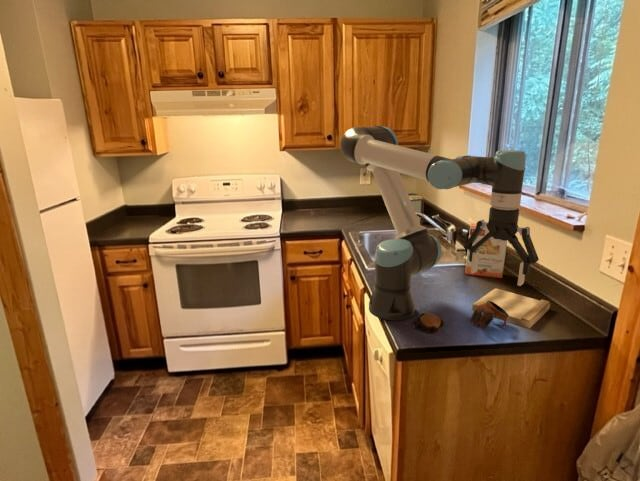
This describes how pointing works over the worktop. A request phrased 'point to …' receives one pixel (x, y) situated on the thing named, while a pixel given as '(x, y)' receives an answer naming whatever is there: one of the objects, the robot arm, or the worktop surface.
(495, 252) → the cracker box
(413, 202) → the protein box
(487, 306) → the pottery mug
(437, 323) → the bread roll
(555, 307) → the worktop surface
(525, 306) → the folded beige towel
